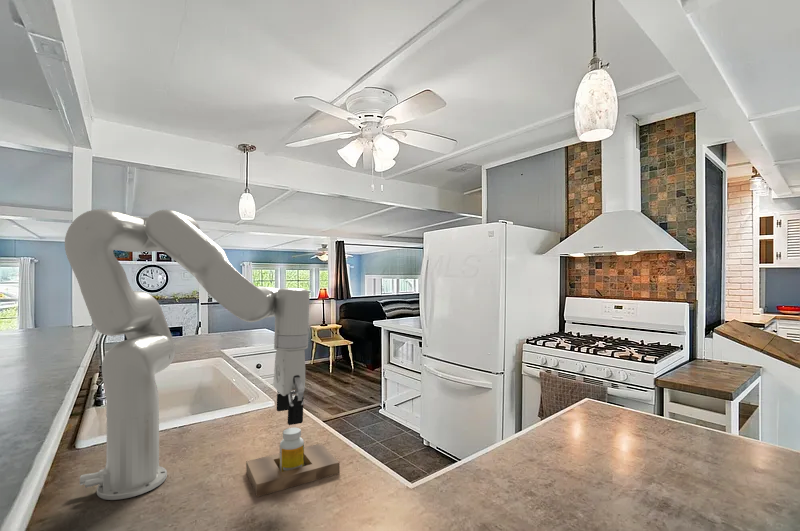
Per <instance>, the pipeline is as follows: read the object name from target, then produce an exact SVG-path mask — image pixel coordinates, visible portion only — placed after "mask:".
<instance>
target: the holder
mask: <svg viewBox="0 0 800 531" xmlns="http://www.w3.org/2000/svg"><path fill="white" fill-rule="evenodd" d="M245 462H246V466H245V467H246V468H245V471H246V472H245V473H246V475H247V477H248V480H249V482H250V484H251V487H252V489H253V491H254V493H255V496H256V498H258V497H261V496H265V495H268V494H269V495H270V494H273V493H276V492H279V491H283V490H286V489H287V490H288V489H290V488H293V487H297V486H300V485H304V484H308V483H311V482H315V481H318V480H322V479H325V478H328V477H331V476H335V475H340V473H341V472H340V465H341V464H340V461H338V459H337V458H336V457H335V456H334V455H333V454H332V452H331V451H330V450H328V448H326V447H325V445H324V444H323V443H322V442H321V443H318V444H313V445H309V446H304V466H303V467H299V468H295V469H292V470H288V471H284V472H281V471H280V452H279V453H274V454H272V455H267V456H264V457H263V456H262V457H258V458H255V459H249V460H247V461H245Z"/></svg>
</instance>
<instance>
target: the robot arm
mask: <svg viewBox="0 0 800 531" xmlns="http://www.w3.org/2000/svg"><path fill="white" fill-rule="evenodd" d="M65 233H66V234H65V237H64V250H65V254H66V258H67V260H68V263H69V265H70V267H71V269H72V271H73V273H74V275H75V279H76V281H77V283H78V285H79V290H80V292H81V295H82V297H83V300H84V303H85V306H86V309H87V310H88V313H89V316H90V319H91V322H92V324H93V325H94V327H95V329H96V330H97V331H98V332H99V333H100V334H102V335H104V336H110V337H113V336H114V337H116V336H122V335H125V338H126V339H124V340H122V341H120V342H117V343H116V344H114V345H113V346H112V347H111V348H110V349H109V350H108V351H107V352H106V353H105V355H104V357H103V359H102V362H101V375H102V380H103V385H104V389H105V400H106V401H105V402H106V405H105V409H106V414H105V415H106V454H105V455H106V464H105V465H104V466H105V467H104V468H103V469H99V471H96V472H91V473H84V474H81V475H80V477H79V486H82V485H84V488H85V489H86V488H91V487H94V486H97V487H96V495H97V497H98V498H100V499H102V500H108V501H109V500H110V501H116V500H123V499H124V500H125V499H129V498H134V497H136V496H140V495H143V494H146V493H147V492H149V491H152V490H155V489H156V488H158V487H159V486H161V484H163V483H164V482H165V481H166V479H167V476H168V471H167V469H166V468H165V467H163V466H160V396H159V390H158V385H157V382H156V377H155V375H156V374H158V373H160V372H162V371H163V370H165V369H166V368H167V369H168V367H170V366H171V364H172V362H174V359H175V357H176V346H175V345H176V344H175V341H174V338H173V335H172V333H171V331H170V327H169V325H168V322H167V320H166V317H165V314H164V311H163V309H162V306H161V304H159V302H158V300H157V299H156V298H155V297H154V296H152V295H151V294H149V293H148V292H144V291H139V290H133V289H132V287H131V285H130V282H129V280H128V277H127V273H126V271H125V269H124V267H123V265H122V264H121V263H120V262H119V260H118V258H117V257H116V256H115V254H114V253H115V252H114V251H120V252H129V253H130V252H131V253H133V252H134V253H139V252H140V253H144V252H147V253H148V252H163V253H164V254H166V255H168V256H169V257H170V258H171V259H173V260H174V261H175V262H176V263H177V264H179V265H180V266H181V267H182V268H183V269H185V270H186V271H188V273H190V274H191V275H192V276H193V277H195V279H196V281H197V282H198V283H199V285H201V287H202V288H203V289H204V290H205V291H206V292H207V293H208V295H210V297H211V298H212V299H213V300H214V301H215V302H217V303H218V304H219V305H221V306H222V307H223V308H224V309H226V310H227V311H228V312H229V313H231V314H232V315H234V316H235V317H236V318H238V319H240V320H241V321H244V322H247V323H256V322H259V321H262V320H263V319H266V318H274V340H273V341H274V343H273V349H274V350H275V356H274V357H275V358H274V359H275V360H274V369H273V384H272V385H273V387H274V388H275V390H276V392H277V394H276V411H277V412H285V411H287V425H289V426H292V425H298V424H302V423H303V422H304V398H305V396H304V392H305V389H306V354H305V350H307V349H308V348H309V322H310V292H309V291H308V290H307V289H306V288H301V287H283V288H282V287H281V288H277V287H271V286H270V287H269V286H262V285H261V286H260V285H259V286H256V285H255V284H254V283H252V282H251V281H250V280H249V279H248V278H246V277H245V276H244V275H242V274H241V273H240V272H239V271H238V270H237V268H235V267H234V266H233V265H232V264H231V262H230V261H229V259H228V256H227V253H226V251H225V250H224V249H223V247H221V246H220V245H219V244H217V242H215V241H213V239H211V238H210V237H209V236H208V235H207V234H205V233H204V232H202V231H201V228H200V226H199V224H198V222H197V221H196V220H195V219H194V218H192V217H190V216H188V215H186V214H183V213H181V212H178V211H175V210H172V209H161V210H157V211H154V212H152V213H151V214H150V215H149V216H143V217H142V216H132V215H129V214H125V213H123V212H120V211H115V210H111V209H102V208H99V209H97V208H96V209H92V210H91V209H90V210H88V211H86V212H83V213H82V214H80V215H78V216H76V218H75V219H74V220H73V221H72V222H71V224H70V225H69V227H68V228H67V230H66V232H65Z"/></svg>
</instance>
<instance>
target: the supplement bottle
mask: <svg viewBox="0 0 800 531" xmlns="http://www.w3.org/2000/svg"><path fill="white" fill-rule="evenodd" d="M301 435H302V429H301V428H299V427H288V428H285V429H284V430H283V431H282V440H281V441H280V443H279V453H280V469H279V470H280V471H281V472H284V471H288V470H292V469H295V468H299V467H303V466H305V465H304V447H305V441H304V439H303V438H302V437H301Z"/></svg>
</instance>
